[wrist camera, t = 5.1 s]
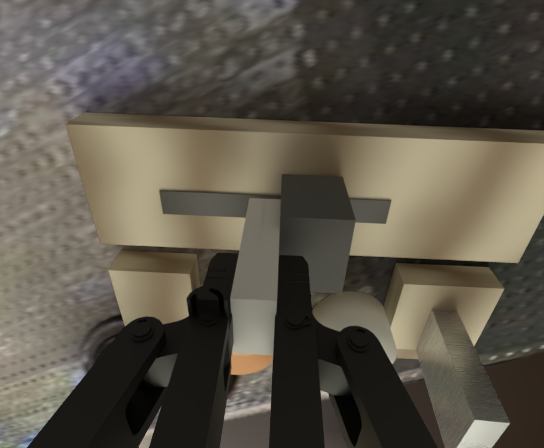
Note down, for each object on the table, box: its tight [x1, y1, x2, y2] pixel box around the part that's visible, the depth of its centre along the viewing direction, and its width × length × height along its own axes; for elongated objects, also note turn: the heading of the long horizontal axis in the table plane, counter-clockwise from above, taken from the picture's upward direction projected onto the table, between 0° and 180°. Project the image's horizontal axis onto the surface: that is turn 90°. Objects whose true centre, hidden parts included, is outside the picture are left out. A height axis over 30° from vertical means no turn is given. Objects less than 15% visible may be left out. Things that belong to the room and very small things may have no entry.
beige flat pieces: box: [65, 112, 544, 359], centre depth 22 cm, size 24×16×2 cm, turn 88°
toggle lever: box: [416, 309, 510, 448], centre depth 21 cm, size 2×4×7 cm, turn 178°
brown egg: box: [231, 349, 273, 375], centre depth 22 cm, size 5×5×3 cm
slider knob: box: [279, 174, 356, 294], centre depth 17 cm, size 3×4×4 cm
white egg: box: [312, 291, 397, 364], centre depth 22 cm, size 5×5×3 cm
